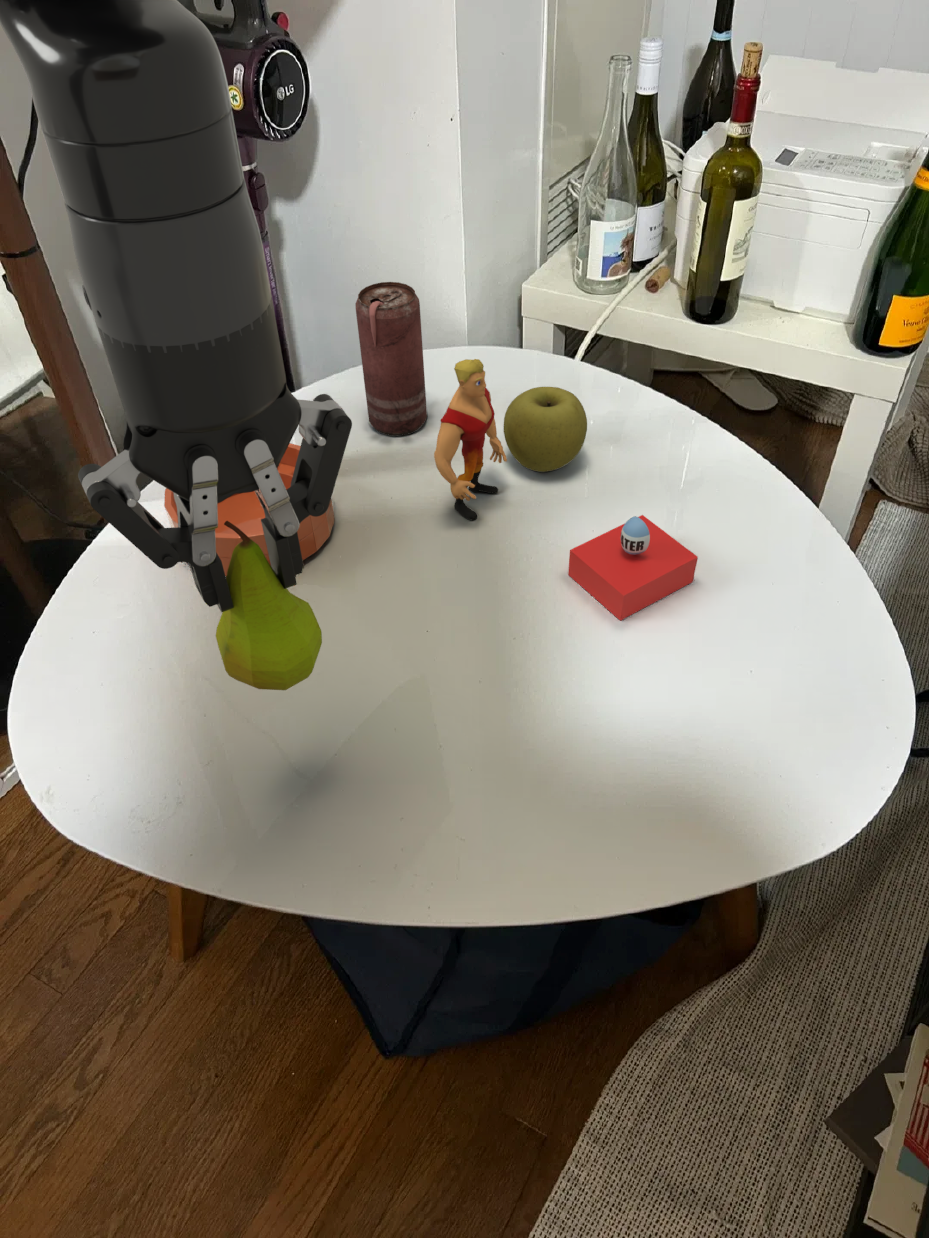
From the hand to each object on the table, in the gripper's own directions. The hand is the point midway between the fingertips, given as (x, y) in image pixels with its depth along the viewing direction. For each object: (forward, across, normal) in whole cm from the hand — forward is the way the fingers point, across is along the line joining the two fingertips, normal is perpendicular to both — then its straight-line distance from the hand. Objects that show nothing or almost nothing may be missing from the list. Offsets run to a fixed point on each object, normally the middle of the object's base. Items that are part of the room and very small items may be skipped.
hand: (254, 588), depth 52 cm
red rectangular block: (+18, +32, +5) cm, 37 cm away
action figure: (+18, +26, +21) cm, 38 cm away
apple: (+18, +35, +23) cm, 46 cm away
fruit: (+7, 0, 0) cm, 7 cm away
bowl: (+18, +7, +28) cm, 34 cm away
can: (+18, +26, +37) cm, 49 cm away
